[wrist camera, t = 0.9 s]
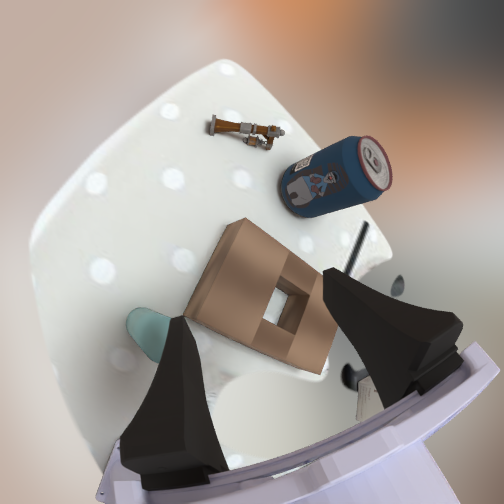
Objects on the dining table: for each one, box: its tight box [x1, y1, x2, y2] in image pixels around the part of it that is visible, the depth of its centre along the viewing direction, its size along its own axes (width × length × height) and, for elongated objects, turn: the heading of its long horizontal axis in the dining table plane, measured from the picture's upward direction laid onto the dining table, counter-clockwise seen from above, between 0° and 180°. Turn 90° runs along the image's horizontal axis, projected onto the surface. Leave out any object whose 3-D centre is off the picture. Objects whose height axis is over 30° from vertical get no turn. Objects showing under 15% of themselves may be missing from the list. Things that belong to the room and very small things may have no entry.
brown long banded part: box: [210, 115, 285, 150], centre depth 29 cm, size 2×8×4 cm, turn 85°
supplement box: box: [356, 376, 384, 422], centre depth 33 cm, size 7×7×13 cm
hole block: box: [183, 217, 338, 375], centre depth 28 cm, size 10×16×4 cm, turn 63°
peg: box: [126, 308, 171, 363], centre depth 19 cm, size 3×3×8 cm
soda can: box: [281, 136, 392, 218], centre depth 29 cm, size 7×7×12 cm
